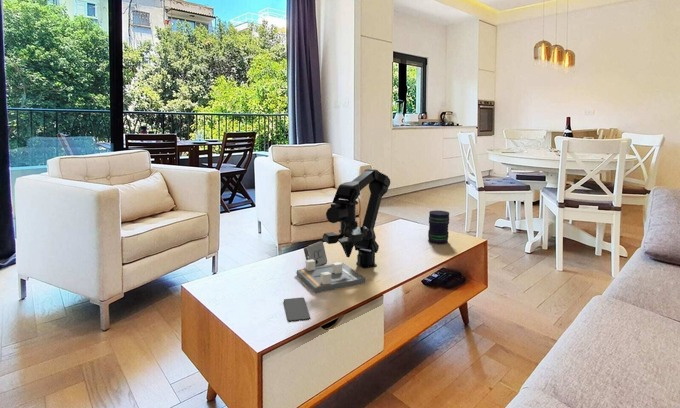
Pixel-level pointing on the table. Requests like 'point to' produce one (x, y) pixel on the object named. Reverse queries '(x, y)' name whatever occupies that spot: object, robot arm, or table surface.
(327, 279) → the handle
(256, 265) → the table surface
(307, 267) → the handle
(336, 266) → the handle middle
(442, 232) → the storage jar
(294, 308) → the smartphone
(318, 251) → the electrical switch
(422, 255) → the table surface
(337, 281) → the breaker panel
